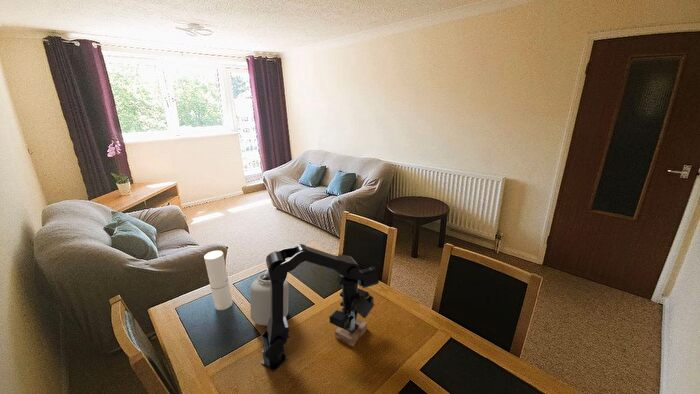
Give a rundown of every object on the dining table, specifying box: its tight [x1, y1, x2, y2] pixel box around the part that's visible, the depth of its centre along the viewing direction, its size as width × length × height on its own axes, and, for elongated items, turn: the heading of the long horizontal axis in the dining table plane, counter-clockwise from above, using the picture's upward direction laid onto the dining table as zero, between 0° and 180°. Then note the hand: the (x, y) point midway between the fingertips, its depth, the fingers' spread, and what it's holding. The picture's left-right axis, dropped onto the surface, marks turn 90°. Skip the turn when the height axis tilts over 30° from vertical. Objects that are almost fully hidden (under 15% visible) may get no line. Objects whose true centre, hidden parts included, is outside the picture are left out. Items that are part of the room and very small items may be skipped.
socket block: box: [334, 317, 368, 347], centre depth 107 cm, size 10×8×3 cm
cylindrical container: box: [203, 250, 233, 311], centre depth 121 cm, size 7×7×25 cm
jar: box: [249, 268, 289, 326], centre depth 114 cm, size 19×15×25 cm
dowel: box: [347, 311, 355, 333], centre depth 106 cm, size 3×3×9 cm
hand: (351, 325), depth 106 cm, fingers closed on dowel, 3 cm apart
